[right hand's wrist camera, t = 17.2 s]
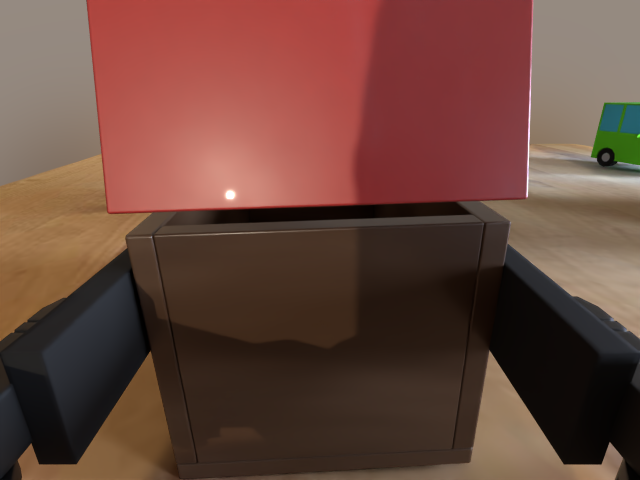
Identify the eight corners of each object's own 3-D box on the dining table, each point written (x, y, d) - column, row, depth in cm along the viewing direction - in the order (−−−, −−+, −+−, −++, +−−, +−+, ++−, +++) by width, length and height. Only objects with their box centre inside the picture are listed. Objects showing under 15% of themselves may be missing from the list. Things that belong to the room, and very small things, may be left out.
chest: (245, 266, 28) (232, 143, 24) (380, 261, 28) (385, 139, 25) (179, 480, 13) (123, 235, 9) (470, 463, 13) (512, 221, 10)
